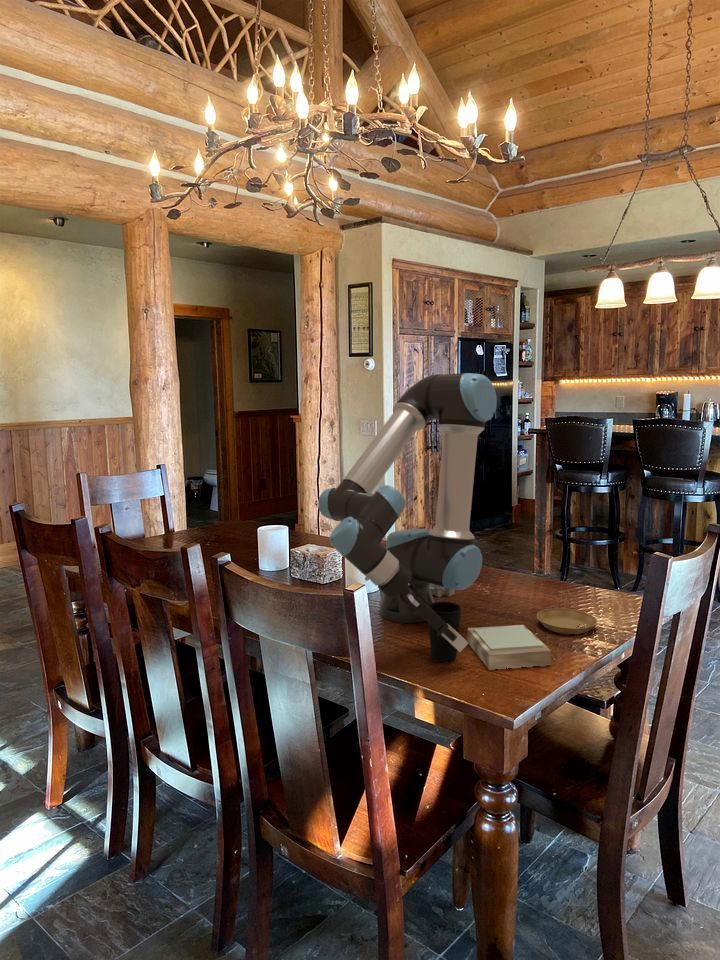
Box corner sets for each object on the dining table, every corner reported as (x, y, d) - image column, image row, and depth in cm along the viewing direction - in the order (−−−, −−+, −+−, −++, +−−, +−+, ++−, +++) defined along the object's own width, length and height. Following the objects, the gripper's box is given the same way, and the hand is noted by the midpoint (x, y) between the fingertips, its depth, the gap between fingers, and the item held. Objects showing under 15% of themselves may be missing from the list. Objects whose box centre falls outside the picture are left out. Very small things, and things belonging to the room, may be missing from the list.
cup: (459, 651, 151) (460, 601, 150) (461, 665, 144) (462, 613, 142) (426, 650, 152) (426, 601, 150) (426, 664, 145) (427, 612, 143)
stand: (467, 642, 157) (467, 626, 156) (522, 638, 159) (523, 622, 158) (489, 670, 141) (489, 652, 141) (550, 665, 143) (551, 648, 142)
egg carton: (451, 590, 199) (451, 577, 198) (456, 597, 191) (456, 584, 191) (416, 590, 198) (416, 577, 197) (420, 598, 191) (420, 585, 190)
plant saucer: (603, 624, 168) (604, 614, 168) (587, 642, 156) (587, 632, 156) (547, 613, 177) (547, 604, 176) (528, 630, 165) (528, 620, 164)
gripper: (369, 572, 154) (433, 632, 159) (385, 602, 133) (459, 670, 137) (391, 550, 154) (455, 610, 159) (410, 576, 133) (484, 645, 137)
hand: (457, 638), depth 148 cm, fingers open, 9 cm apart
